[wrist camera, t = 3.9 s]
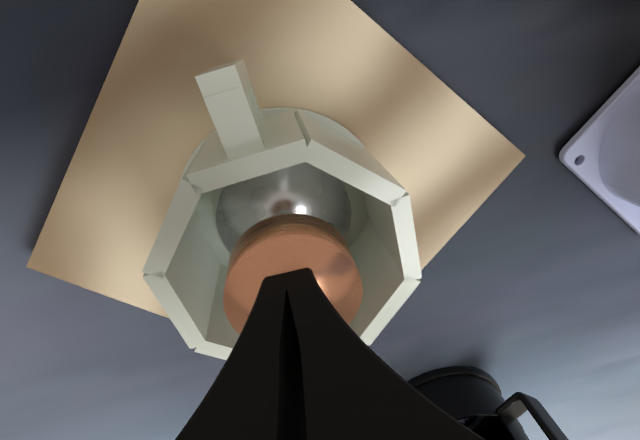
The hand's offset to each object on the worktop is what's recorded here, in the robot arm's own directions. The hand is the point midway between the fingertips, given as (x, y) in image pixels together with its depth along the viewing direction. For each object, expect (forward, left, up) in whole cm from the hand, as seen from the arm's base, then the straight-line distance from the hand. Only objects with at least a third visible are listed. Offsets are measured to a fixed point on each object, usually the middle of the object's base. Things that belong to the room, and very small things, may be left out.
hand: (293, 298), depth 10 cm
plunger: (0, 0, -5) cm, 6 cm away
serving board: (0, 0, -7) cm, 7 cm away
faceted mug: (0, 0, -6) cm, 6 cm away
